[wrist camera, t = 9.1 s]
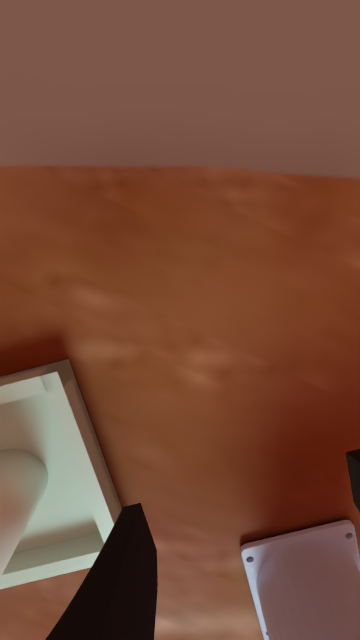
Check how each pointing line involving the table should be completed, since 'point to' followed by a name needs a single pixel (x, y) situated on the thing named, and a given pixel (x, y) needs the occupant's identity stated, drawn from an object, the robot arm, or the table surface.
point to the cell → (18, 497)
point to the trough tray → (57, 473)
